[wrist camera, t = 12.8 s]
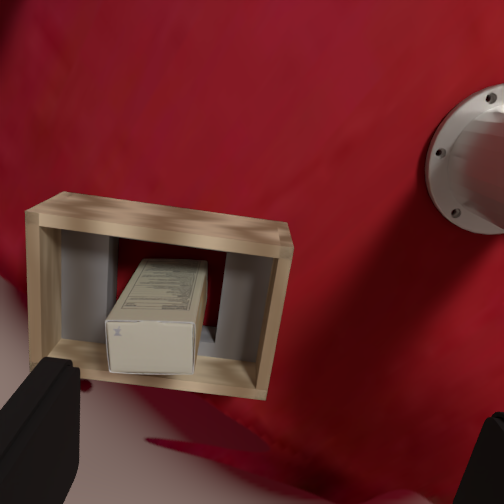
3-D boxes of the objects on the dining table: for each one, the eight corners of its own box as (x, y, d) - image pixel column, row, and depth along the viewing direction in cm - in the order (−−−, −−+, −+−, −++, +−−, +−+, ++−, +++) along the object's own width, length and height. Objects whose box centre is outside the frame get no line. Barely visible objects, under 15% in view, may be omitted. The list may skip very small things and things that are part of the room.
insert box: (287, 222, 40) (294, 247, 33) (263, 355, 44) (265, 400, 38) (63, 191, 39) (25, 210, 32) (63, 330, 43) (29, 372, 37)
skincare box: (143, 298, 42) (103, 374, 31) (142, 256, 41) (98, 319, 29) (210, 301, 42) (195, 378, 31) (211, 259, 41) (195, 323, 29)
